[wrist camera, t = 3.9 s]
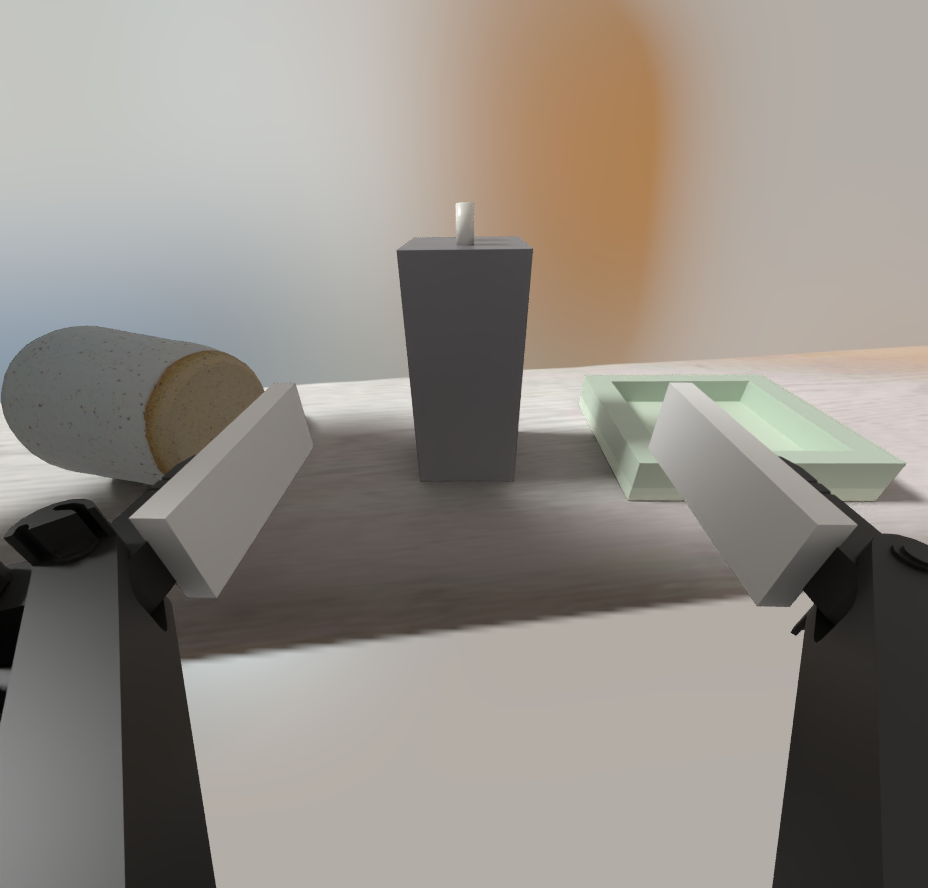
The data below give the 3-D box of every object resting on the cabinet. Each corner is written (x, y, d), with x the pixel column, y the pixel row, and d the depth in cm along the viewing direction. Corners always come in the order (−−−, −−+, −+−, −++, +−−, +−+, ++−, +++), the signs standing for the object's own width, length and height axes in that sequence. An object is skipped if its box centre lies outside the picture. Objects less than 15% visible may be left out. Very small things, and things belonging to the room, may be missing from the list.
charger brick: (420, 481, 20) (392, 205, 13) (429, 431, 24) (411, 202, 17) (513, 481, 20) (536, 203, 13) (506, 431, 24) (520, 201, 17)
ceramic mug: (199, 526, 17) (111, 370, 13) (62, 502, 19) (-55, 354, 14) (320, 418, 26) (291, 303, 22) (220, 407, 27) (176, 298, 23)
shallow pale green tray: (627, 500, 18) (639, 463, 17) (578, 405, 26) (584, 375, 25) (875, 501, 18) (906, 463, 17) (747, 404, 26) (762, 374, 25)
